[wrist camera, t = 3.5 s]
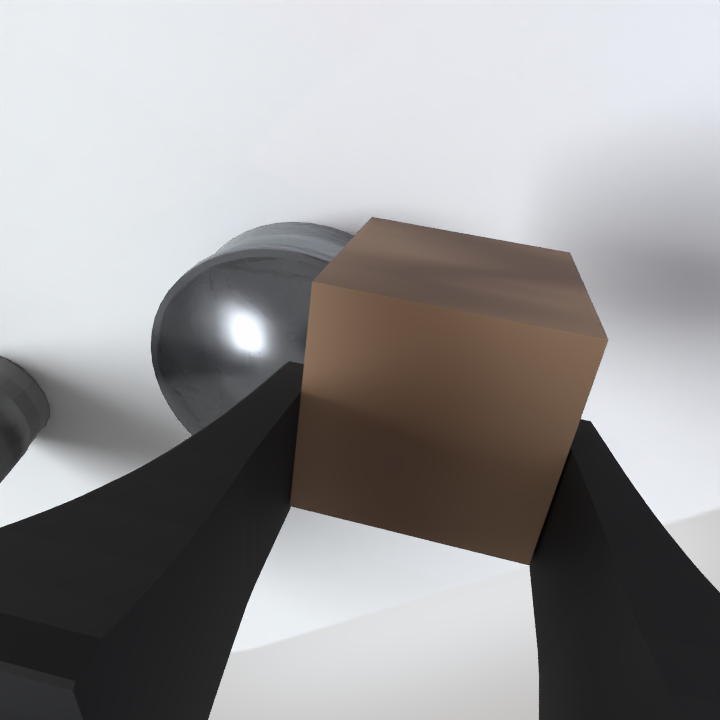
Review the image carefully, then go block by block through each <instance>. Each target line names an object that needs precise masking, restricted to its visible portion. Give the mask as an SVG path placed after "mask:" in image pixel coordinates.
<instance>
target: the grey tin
mask: <svg viewBox="0 0 720 720" xmlns="http://www.w3.org/2000/svg"><path fill="white" fill-rule="evenodd" d="M353 237H354V236H352V235H350V234H348V233H346V232H343V231H340V230H337V229H334V228H331V227H327V226H322V225H317V224H312V223H300V222H286V223H275V224H270V225H265V226H260V227H257V228H255V229H252V230H249V231H246V232H244V233H242V234H240V235H239V236H237V237H235V238H233V239H232V240H230V241H229V242H228V243H226V244H225V245H224V246H222V247H221V248H220V249H219V250H218V251H217V252H216V253H215V254H214V255H212V256H210V257H208V258H206V259H204V260H202V261H201V262H199V263H198V264H196V265H195V266H194V267H193V268H191V269H190V270H189V271H187V272H186V273H185V274H184V275H183V276H182V277H181V278H180V279H179V280H178V281H177V282H176V283H175V284H174V285H173V287H172V288H171V289H170V290H169V291H168V293H167V294H166V296H165V297H164V299H163V301H162V302H161V304H160V306H159V309H158V311H157V314H156V316H155V319H154V324H153V329H152V336H151V353H152V363H153V367H154V371H155V375H156V378H157V381H158V384H159V386H160V389H161V391H162V393H163V395H164V397H165V399H166V401H167V403H168V405H169V406H170V408H171V409H172V411H173V412H174V414H175V415H176V417H177V418H178V420H179V421H180V422H181V423H182V424H183V426H184V427H185V428H186V429H187V430H188V431H189V432H190V433H191V434H192V435H194V434H195V433H197V432H198V431H200V430H201V429H203V428H204V427H206V426H207V425H208V424H210V423H211V422H213V421H214V420H216V419H217V418H218V417H220V416H221V415H222V414H224V413H225V412H226V411H228V410H229V409H230V408H231V407H233V406H234V405H235V404H237V403H238V402H239V401H241V400H242V399H243V398H244V397H246V396H247V395H248V394H249V393H251V392H252V391H253V390H254V389H256V388H257V387H258V386H259V385H260V384H262V383H263V382H264V381H265V380H266V379H268V378H269V377H270V376H271V375H272V374H273V373H275V372H276V371H277V370H278V369H279V368H280V367H282V366H283V365H284V364H286V363H287V362H289V361H291V362H296V363H301V364H304V359H305V349H306V339H307V329H308V319H309V309H310V299H311V289H312V281H313V280H314V279H315V278H316V277H317V276H318V275H319V274H320V273H321V271H322V270H323V269H324V268H325V267H326V266H327V265H328V264H329V263H330V262H331V261H332V260H333V258H334V257H335V256H336V255H337V254H338V253H339V252H340V251H341V250H342V249H343V248H344V247H345V246H346V244H347V243H348V242H349V241H350V240H351V239H352V238H353Z"/></svg>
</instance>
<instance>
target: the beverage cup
mask: <svg viewBox="0 0 720 720" xmlns="http://www.w3.org/2000/svg"><path fill="white" fill-rule="evenodd" d="M48 419H49V405H48V402H47V400H46V397H45V395H44V393H43V391H42V390H41V389H40V387H39V386H38V384H37V383H36V382H35V380H34V379H33V378H31V377H30V376H29V375H28V374H27V373H26V372H25V371H24V370H23V369H22V368H20V367H18V366H17V365H15V364H14V363H12V362H10V361H9V360H7V359H5V358H2V357H0V483H1V482H2V480H3V479H4V478H5V477H6V476H7V474H8V473H9V472H10V471H11V469H12V468H13V467H14V466H15V465H16V463H17V462H18V461H19V460H20V458H21V457H22V456H23V455H24V454H25V452H26V451H27V449H28V447H29V445H30V444H31V442H32V441H33V440H34V439H35V437H36V435H37V433H38V432H39V431H40V430H41V429H42V428H43V427H44V426H45V425H46V423H47V421H48Z"/></svg>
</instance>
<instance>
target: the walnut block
mask: <svg viewBox="0 0 720 720" xmlns="http://www.w3.org/2000/svg"><path fill="white" fill-rule="evenodd" d="M607 342H608V338H607V336H606V333H605V331H604V329H603V327H602V324H601V322H600V320H599V317H598V315H597V313H596V311H595V308H594V306H593V304H592V302H591V299H590V297H589V295H588V293H587V290H586V288H585V286H584V283H583V281H582V279H581V277H580V274H579V272H578V270H577V268H576V265H575V263H574V261H573V259H572V256H571V254H570V253H568V252H563V251H557V250H552V249H546V248H541V247H535V246H530V245H524V244H519V243H513V242H507V241H502V240H496V239H491V238H485V237H480V236H474V235H469V234H463V233H457V232H452V231H446V230H441V229H435V228H430V227H424V226H419V225H413V224H407V223H402V222H396V221H391V220H385V219H380V218H374V217H372V218H371V219H370V220H369V221H368V222H367V223H366V224H365V225H364V226H363V227H362V228H361V229H360V230H359V232H358V233H357V234H356V235H355V236H354V237H353V238H352V239H351V240H350V241H349V242H348V243H347V244H346V246H345V247H344V248H343V249H342V250H341V251H340V252H339V253H338V254H337V255H336V256H335V257H334V258H333V260H332V261H331V262H330V263H329V264H328V265H327V266H326V267H325V268H324V269H323V270H322V271H321V273H320V274H319V275H318V276H317V277H316V278H315V279H314V280H313V281H312V289H311V299H310V309H309V319H308V329H307V339H306V349H305V359H304V369H303V379H302V390H301V400H300V410H299V420H298V430H297V440H296V450H295V460H294V470H293V480H292V490H291V500H290V506H292V507H296V508H300V509H304V510H308V511H312V512H316V513H320V514H324V515H328V516H332V517H336V518H340V519H345V520H349V521H353V522H357V523H361V524H365V525H369V526H373V527H377V528H381V529H385V530H389V531H393V532H397V533H401V534H405V535H409V536H413V537H417V538H421V539H425V540H429V541H433V542H437V543H441V544H445V545H449V546H453V547H457V548H461V549H465V550H469V551H473V552H478V553H482V554H486V555H490V556H494V557H498V558H502V559H506V560H510V561H514V562H518V563H522V564H526V565H529V564H530V561H531V558H532V555H533V552H534V550H535V547H536V544H537V541H538V538H539V535H540V532H541V530H542V527H543V524H544V521H545V518H546V515H547V513H548V510H549V507H550V504H551V501H552V498H553V495H554V493H555V490H556V487H557V484H558V481H559V478H560V476H561V473H562V470H563V467H564V464H565V461H566V458H567V456H568V453H569V450H570V447H571V444H572V441H573V439H574V436H575V433H576V430H577V427H578V424H579V422H580V419H581V416H582V413H583V410H584V407H585V404H586V402H587V399H588V396H589V393H590V390H591V387H592V385H593V382H594V379H595V376H596V373H597V370H598V367H599V365H600V362H601V359H602V356H603V353H604V350H605V348H606V345H607Z"/></svg>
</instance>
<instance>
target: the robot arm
mask: <svg viewBox="0 0 720 720" xmlns="http://www.w3.org/2000/svg"><path fill="white" fill-rule="evenodd" d="M303 369H304V364H301V363H296V362H291V361H289V362H287V363H286V364H284V365H283V366H282V367H280V368H279V369H278V370H277V371H276V372H275V373H273V374H272V375H271V376H270V377H269V378H268V379H266V380H265V381H264V382H263V383H262V384H260V385H259V386H258V387H257V388H256V389H254V390H253V391H252V392H251V393H249V394H248V395H247V396H246V397H244V398H243V399H242V400H241V401H239V402H238V403H237V404H235V405H234V406H233V407H231V408H230V409H229V410H228V411H226V412H225V413H224V414H222V415H221V416H220V417H218V418H217V419H216V420H214V421H213V422H211V423H210V424H208V425H207V426H206V427H204V428H203V429H201V430H200V431H198V432H197V433H195V434H194V435H192V436H191V437H190V438H188V439H187V440H185V441H184V442H182V443H181V444H179V445H177V446H176V447H174V448H173V449H171V450H169V451H168V452H166V453H165V454H163V455H161V456H159V457H158V458H156V459H154V460H153V461H151V462H149V463H147V464H146V465H144V466H142V467H140V468H138V469H137V470H135V471H133V472H131V473H129V474H127V475H125V476H123V477H121V478H119V479H116V480H114V481H112V482H110V483H108V484H106V485H104V486H102V487H100V488H98V489H95V490H93V491H91V492H89V493H87V494H85V495H83V496H81V497H78V498H76V499H74V500H71V501H69V502H66V503H64V504H62V505H59V506H57V507H54V508H52V509H49V510H47V511H44V512H42V513H39V514H36V515H34V516H31V517H28V518H26V519H23V520H20V521H18V522H15V523H12V524H9V525H6V526H4V527H1V528H0V720H208V718H209V715H210V712H211V709H212V706H213V702H214V699H215V696H216V693H217V690H218V687H219V685H220V681H221V679H222V675H223V673H224V669H225V666H226V664H227V661H228V658H229V655H230V652H231V649H232V646H233V643H234V640H235V637H236V634H237V631H238V629H239V626H240V623H241V620H242V617H243V614H244V611H245V608H246V606H247V603H248V601H249V598H250V596H251V593H252V591H253V588H254V586H255V583H256V581H257V579H258V577H259V575H260V573H261V570H262V568H263V566H264V564H265V562H266V560H267V557H268V555H269V553H270V551H271V549H272V547H273V544H274V542H275V540H276V538H277V536H278V534H279V531H280V529H281V527H282V525H283V523H284V521H285V518H286V516H287V514H288V512H289V510H290V508H291V506H290V500H291V490H292V480H293V470H294V460H295V450H296V440H297V430H298V420H299V410H300V400H301V390H302V379H303ZM529 565H530V576H531V585H532V596H533V607H534V617H535V627H536V637H537V647H538V663H539V720H720V592H719V591H718V590H717V589H716V588H715V587H714V586H713V585H712V584H711V583H710V582H709V581H708V579H707V578H706V577H705V576H704V575H703V574H702V573H701V572H700V571H699V569H698V568H697V567H696V566H695V565H694V564H693V562H692V561H691V560H690V559H689V558H688V557H687V555H686V554H685V553H684V552H683V550H682V549H681V548H680V547H679V545H678V544H677V543H676V542H675V540H674V539H673V538H672V537H671V535H670V534H669V533H668V532H667V530H666V529H665V528H664V527H663V525H662V524H661V523H660V521H659V520H658V519H657V517H656V516H655V515H654V513H653V512H652V511H651V509H650V508H649V507H648V505H647V504H646V503H645V501H644V500H643V498H642V497H641V496H640V494H639V493H638V491H637V490H636V489H635V487H634V486H633V484H632V483H631V481H630V480H629V478H628V477H627V476H626V474H625V473H624V471H623V470H622V468H621V467H620V465H619V464H618V462H617V461H616V459H615V457H614V456H613V454H612V453H611V451H610V450H609V448H608V447H607V445H606V444H605V442H604V441H603V439H602V438H601V436H600V435H599V433H598V432H597V430H596V429H595V427H594V426H593V424H592V423H591V421H586V420H581V419H580V422H579V424H578V427H577V430H576V433H575V436H574V439H573V441H572V444H571V447H570V450H569V453H568V456H567V458H566V461H565V464H564V467H563V470H562V473H561V476H560V478H559V481H558V484H557V487H556V490H555V493H554V495H553V498H552V501H551V504H550V507H549V510H548V513H547V515H546V518H545V521H544V524H543V527H542V530H541V532H540V535H539V538H538V541H537V544H536V547H535V550H534V552H533V555H532V558H531V561H530V564H529Z"/></svg>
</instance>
